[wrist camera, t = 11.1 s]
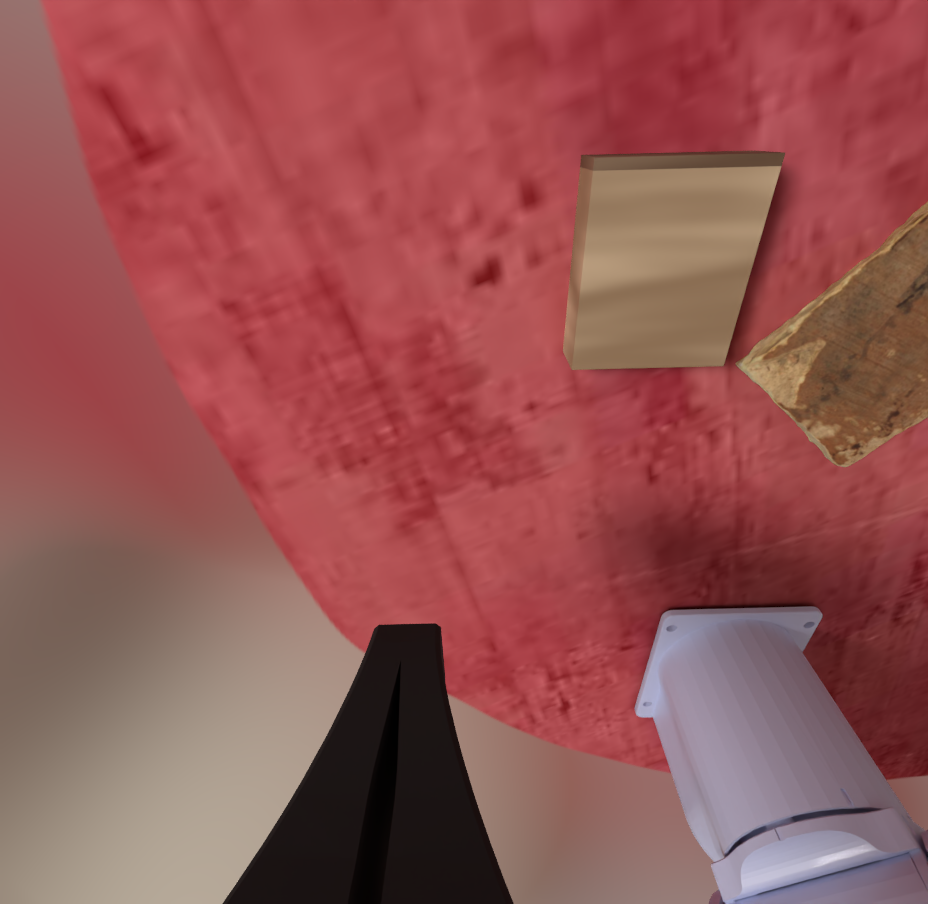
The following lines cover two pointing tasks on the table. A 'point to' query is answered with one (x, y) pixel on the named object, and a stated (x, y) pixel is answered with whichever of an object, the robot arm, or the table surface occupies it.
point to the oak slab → (663, 255)
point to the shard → (856, 351)
